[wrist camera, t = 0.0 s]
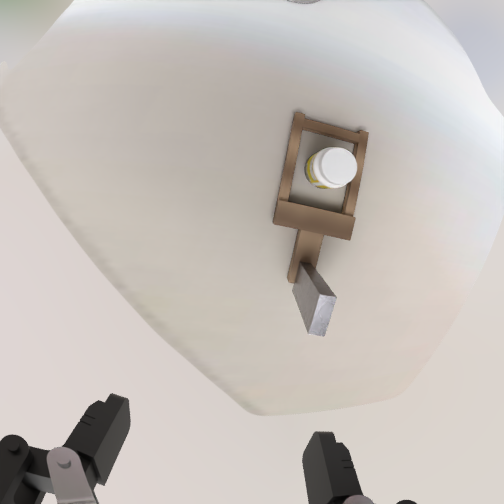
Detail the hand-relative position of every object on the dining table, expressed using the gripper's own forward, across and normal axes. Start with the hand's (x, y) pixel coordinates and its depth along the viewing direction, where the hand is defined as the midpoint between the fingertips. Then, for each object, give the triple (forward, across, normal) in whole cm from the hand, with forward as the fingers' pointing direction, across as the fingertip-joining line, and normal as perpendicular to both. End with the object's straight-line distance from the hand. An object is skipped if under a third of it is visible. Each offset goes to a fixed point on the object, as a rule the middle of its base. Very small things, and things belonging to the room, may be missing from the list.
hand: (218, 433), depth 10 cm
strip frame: (+29, -8, -9) cm, 32 cm away
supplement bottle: (+30, -8, -14) cm, 34 cm away
